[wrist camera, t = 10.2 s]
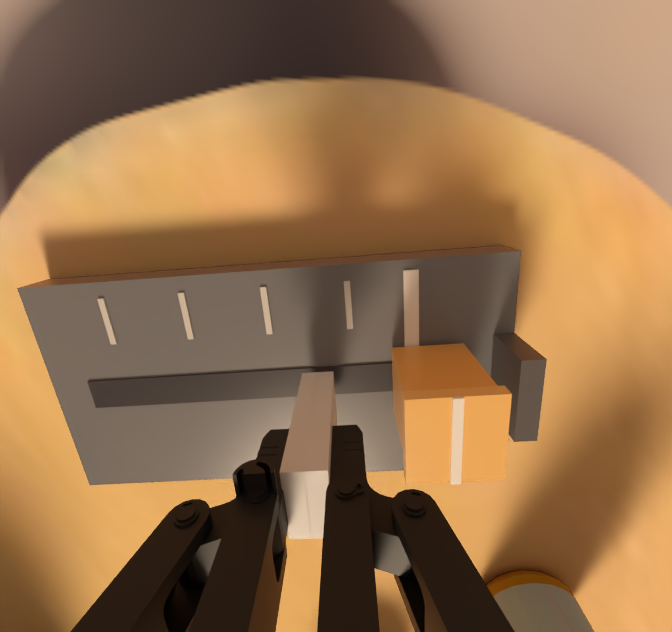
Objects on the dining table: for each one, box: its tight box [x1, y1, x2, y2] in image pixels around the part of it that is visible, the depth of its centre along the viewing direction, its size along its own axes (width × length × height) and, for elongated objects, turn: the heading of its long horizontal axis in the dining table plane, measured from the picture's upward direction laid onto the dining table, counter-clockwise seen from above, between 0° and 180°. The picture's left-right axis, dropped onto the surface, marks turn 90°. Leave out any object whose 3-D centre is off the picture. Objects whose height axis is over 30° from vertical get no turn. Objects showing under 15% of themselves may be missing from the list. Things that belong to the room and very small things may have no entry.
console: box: [17, 245, 546, 485], centre depth 18 cm, size 24×12×5 cm, turn 95°
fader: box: [392, 343, 512, 485], centre depth 16 cm, size 4×4×5 cm
